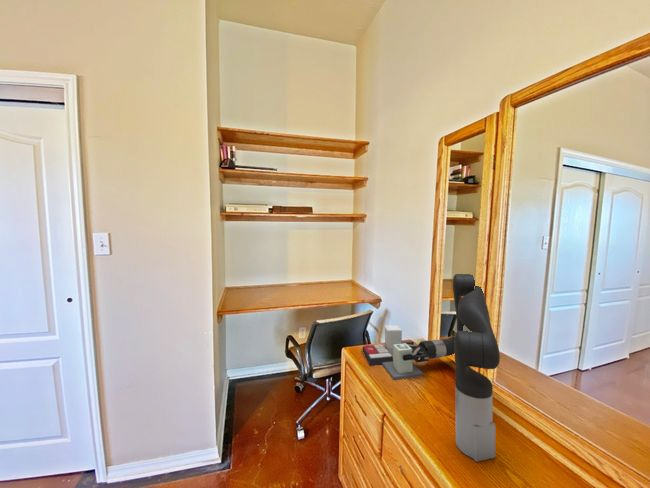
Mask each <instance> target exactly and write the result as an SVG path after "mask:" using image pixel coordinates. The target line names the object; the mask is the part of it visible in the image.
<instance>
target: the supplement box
mask: <svg viewBox="0 0 650 488" xmlns="http://www.w3.org/2000/svg"><path fill="white" fill-rule="evenodd" d="M402 331H403V330H402V329H401V327H400V325H399V324H398V325H397V324H394V325H393V324H392V325H391V324H389V325H387V324H386V325H384V347H385V348H386V349H387V350H388V352H389V353H390V354H391V355H392V356H393V345H394V344H401V343H403V342H402V341H403V336H402V335H403V334H402V333H403V332H402Z"/></svg>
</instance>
